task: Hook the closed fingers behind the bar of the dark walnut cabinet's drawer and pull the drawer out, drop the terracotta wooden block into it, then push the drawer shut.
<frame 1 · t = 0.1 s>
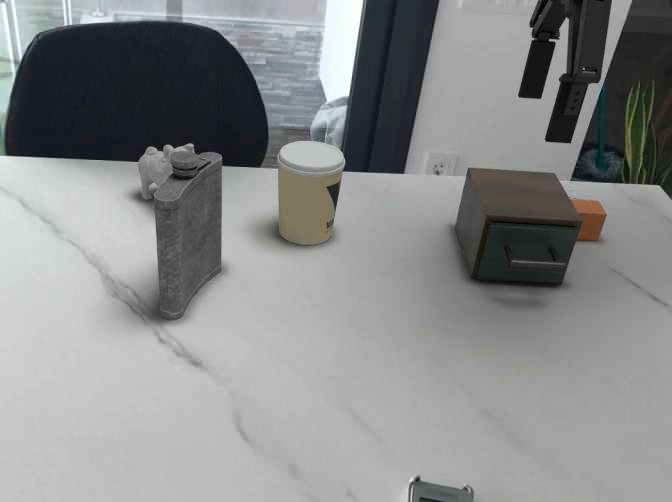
hand: (542, 118, 90), 23 cm above the table, tool pointing down, fingers open, 13 cm apart
flask: (189, 290, 100), on the table
coffee cup: (305, 233, 113), on the table
dog figurine: (173, 206, 117), on the table
block: (579, 232, 118), on the table
cabinet: (505, 254, 112), on the table
drawer: (520, 239, 105), point 5 cm above the table, slide at 0.0 cm
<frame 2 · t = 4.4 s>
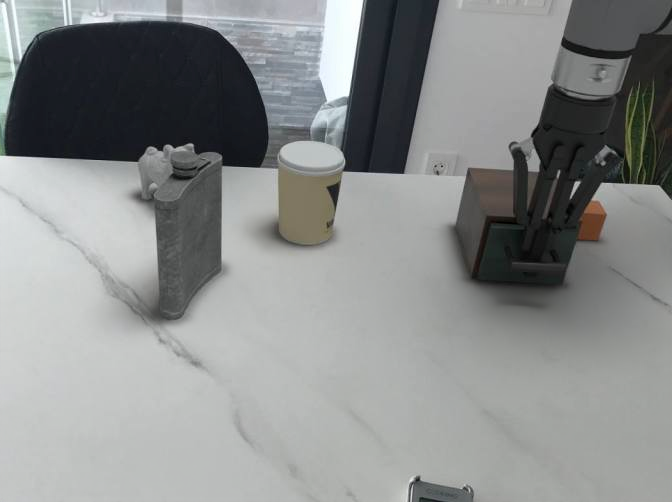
hand: (527, 271, 101), 4 cm above the table, tool pointing down, fingers closed
drawer: (520, 240, 105), point 5 cm above the table, slide at 0.3 cm, touching gripper
everything else where it was.
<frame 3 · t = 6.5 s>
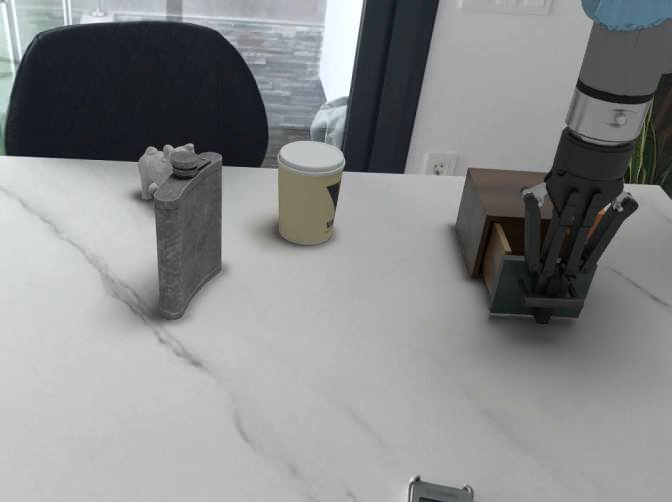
hand: (539, 318, 96), 2 cm above the table, tool pointing down, fingers closed
drawer: (534, 271, 99), point 5 cm above the table, slide at 8.4 cm, touching gripper
everything else where it was.
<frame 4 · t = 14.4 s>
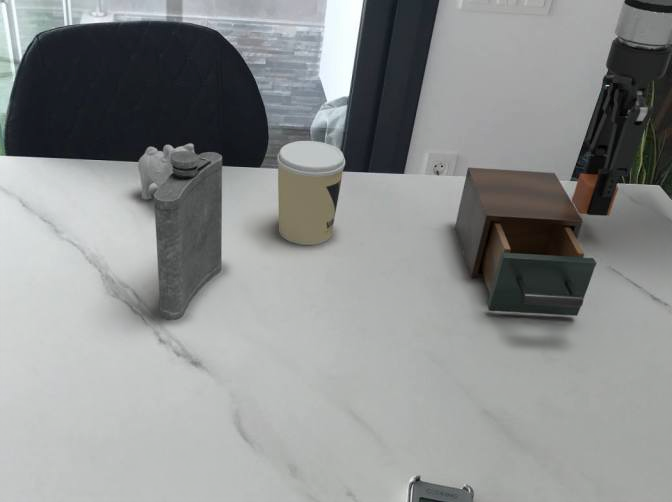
hand: (591, 205, 115), 5 cm above the table, tool pointing down, fingers closed on block, 4 cm apart
block: (590, 208, 115), point 4 cm above the table, touching gripper
drawer: (533, 269, 99), point 5 cm above the table, slide at 7.8 cm
everything else where it was.
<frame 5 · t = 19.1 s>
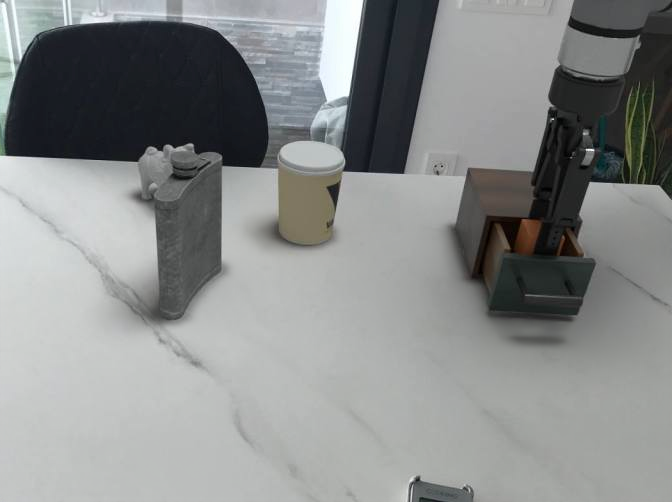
hand: (535, 256, 99), 6 cm above the table, tool pointing down, fingers closed on block, 4 cm apart
block: (533, 259, 99), point 6 cm above the table, touching gripper
everything else where it was.
when the fingers open (6 cm above the table, at t = 21.7 s): block drops 3 cm, resting on drawer.
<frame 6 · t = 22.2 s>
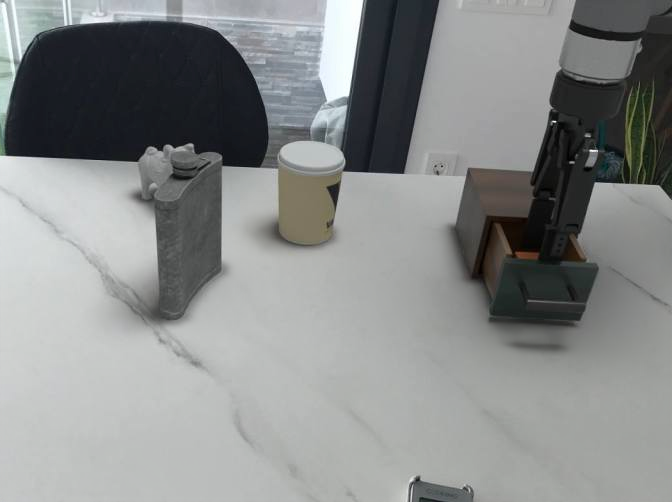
hand: (537, 260, 98), 6 cm above the table, tool pointing down, fingers open, 6 cm apart
block: (527, 290, 101), point 2 cm above the table, touching drawer
drawer: (535, 274, 98), point 5 cm above the table, slide at 9.0 cm, touching block, gripper
everything else where it was.
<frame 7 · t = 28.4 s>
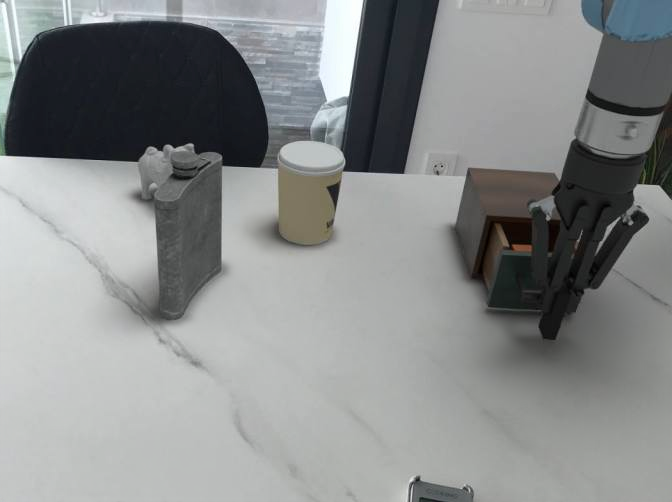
hand: (546, 333, 94), 2 cm above the table, tool pointing down, fingers closed
block: (523, 282, 102), point 2 cm above the table, touching drawer
drawer: (532, 266, 100), point 5 cm above the table, slide at 7.1 cm, touching block, gripper
everything else where it was.
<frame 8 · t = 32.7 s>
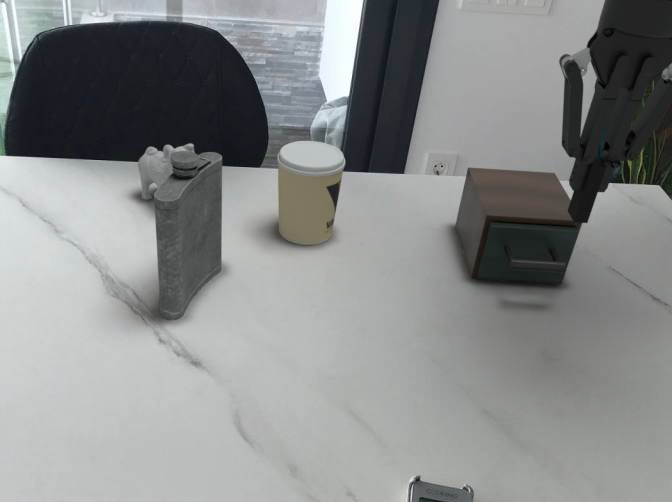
hand: (577, 216, 86), 16 cm above the table, tool pointing down, fingers closed
block: (512, 255, 108), point 2 cm above the table, touching drawer
drawer: (520, 239, 105), point 5 cm above the table, slide at 0.0 cm, touching block, cabinet
everything else where it was.
at the end: drawer pulled out 9.1 cm at the most during the clip, back to where it started at the end; block inside the target area in the cabinet (3.6 cm from its centre), point 2.0 cm above the cabinet's base; drawer slide at 0.0 cm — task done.
